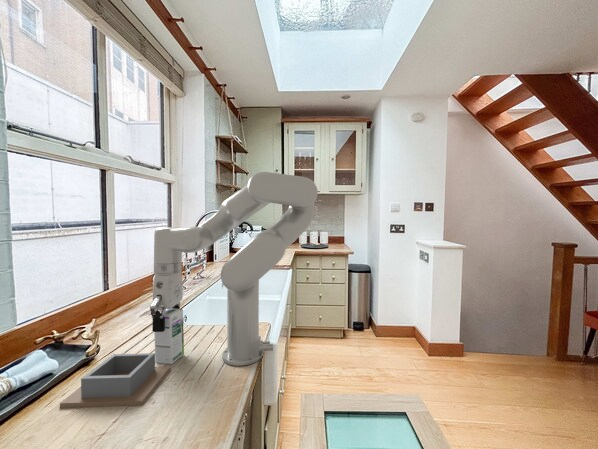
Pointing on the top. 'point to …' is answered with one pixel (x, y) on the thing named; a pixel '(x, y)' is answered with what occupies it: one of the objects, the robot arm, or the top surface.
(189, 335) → the top surface
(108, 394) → the caddy
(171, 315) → the syrup box
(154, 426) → the top surface
